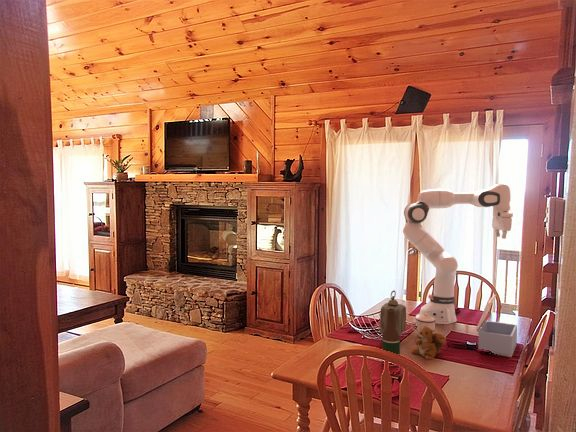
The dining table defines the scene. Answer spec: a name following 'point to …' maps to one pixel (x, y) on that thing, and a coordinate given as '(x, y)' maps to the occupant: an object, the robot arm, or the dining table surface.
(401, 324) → the brown cowbell
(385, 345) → the beer bottle
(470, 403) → the dining table surface
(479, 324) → the lid
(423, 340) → the stuffed squirrel
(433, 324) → the teacup with lid
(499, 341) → the box
